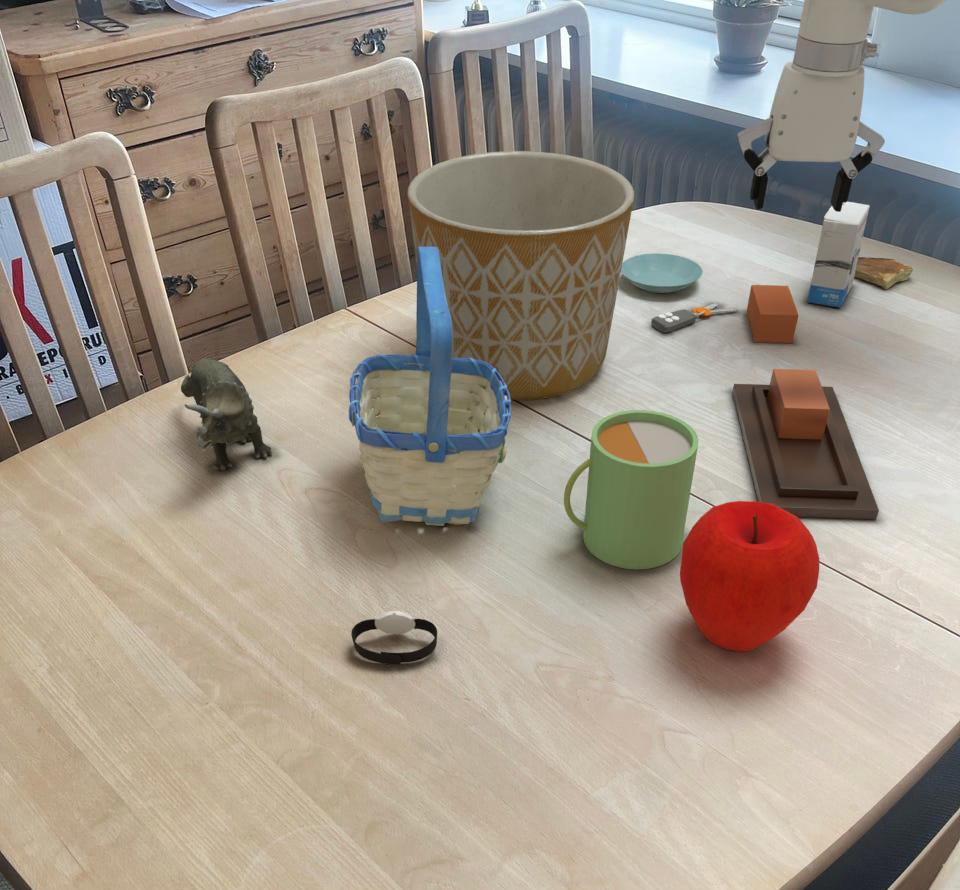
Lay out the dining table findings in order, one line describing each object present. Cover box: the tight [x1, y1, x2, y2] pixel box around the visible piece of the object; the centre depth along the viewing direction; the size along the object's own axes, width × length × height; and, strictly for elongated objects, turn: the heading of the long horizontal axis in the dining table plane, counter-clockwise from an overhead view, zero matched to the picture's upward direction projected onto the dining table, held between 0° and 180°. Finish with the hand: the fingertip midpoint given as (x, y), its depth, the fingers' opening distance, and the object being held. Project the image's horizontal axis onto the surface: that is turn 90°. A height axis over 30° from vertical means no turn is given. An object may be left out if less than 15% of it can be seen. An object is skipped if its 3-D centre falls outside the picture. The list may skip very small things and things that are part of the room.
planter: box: [407, 150, 635, 401], centre depth 128 cm, size 26×26×22 cm
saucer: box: [621, 252, 704, 294], centre depth 152 cm, size 12×12×2 cm
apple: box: [679, 500, 821, 652], centre depth 92 cm, size 12×12×13 cm
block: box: [746, 284, 800, 344], centre depth 141 cm, size 9×5×4 cm, turn 176°
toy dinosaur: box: [180, 357, 273, 471], centre depth 117 cm, size 22×8×11 cm, turn 18°
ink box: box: [806, 201, 870, 308], centre depth 146 cm, size 9×5×12 cm, turn 154°
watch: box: [350, 610, 438, 665], centre depth 94 cm, size 8×5×4 cm, turn 91°
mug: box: [563, 409, 700, 570], centre depth 103 cm, size 13×10×12 cm
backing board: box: [732, 368, 880, 520], centre depth 118 cm, size 26×12×5 cm, turn 176°
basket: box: [348, 247, 512, 527], centre depth 106 cm, size 21×16×24 cm
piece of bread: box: [854, 256, 914, 290], centre depth 155 cm, size 11×8×2 cm
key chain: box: [651, 302, 738, 333], centre depth 144 cm, size 13×4×2 cm, turn 123°
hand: (796, 206), depth 131 cm, fingers open, 9 cm apart
